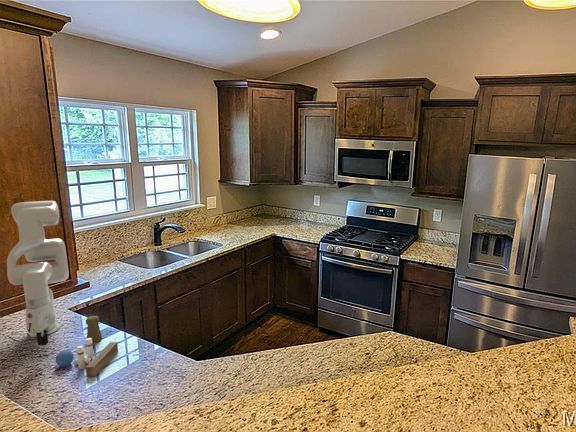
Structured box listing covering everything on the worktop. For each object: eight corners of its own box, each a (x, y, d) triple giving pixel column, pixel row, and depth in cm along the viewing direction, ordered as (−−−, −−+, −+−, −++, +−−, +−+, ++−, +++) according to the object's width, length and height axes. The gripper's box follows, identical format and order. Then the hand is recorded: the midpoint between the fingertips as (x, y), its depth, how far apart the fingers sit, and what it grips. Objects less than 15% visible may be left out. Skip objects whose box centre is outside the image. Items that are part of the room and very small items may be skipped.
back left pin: (87, 358, 147) (85, 338, 145) (93, 356, 148) (91, 337, 146) (87, 361, 145) (85, 341, 143) (94, 359, 146) (92, 339, 144)
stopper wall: (86, 377, 134) (85, 367, 134) (110, 351, 152) (110, 342, 151) (94, 377, 134) (93, 367, 134) (118, 351, 152) (117, 342, 151)
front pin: (74, 359, 142) (97, 358, 142) (77, 357, 144) (99, 357, 144) (74, 365, 141) (96, 364, 142) (77, 364, 143) (99, 363, 144)
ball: (78, 356, 142) (74, 365, 144) (71, 344, 144) (67, 353, 146) (61, 362, 137) (57, 372, 139) (54, 350, 139) (50, 360, 141)
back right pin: (78, 366, 141) (76, 346, 139) (85, 365, 142) (83, 345, 140) (78, 370, 139) (76, 349, 137) (85, 368, 140) (83, 347, 139)
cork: (98, 335, 165) (96, 312, 163) (104, 339, 161) (102, 316, 160) (84, 340, 161) (81, 317, 159) (90, 345, 157) (87, 321, 155)
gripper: (33, 309, 132) (39, 355, 136) (59, 292, 147) (64, 334, 151) (13, 309, 132) (19, 354, 136) (41, 292, 147) (46, 333, 151)
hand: (43, 343), depth 143 cm, fingers closed
